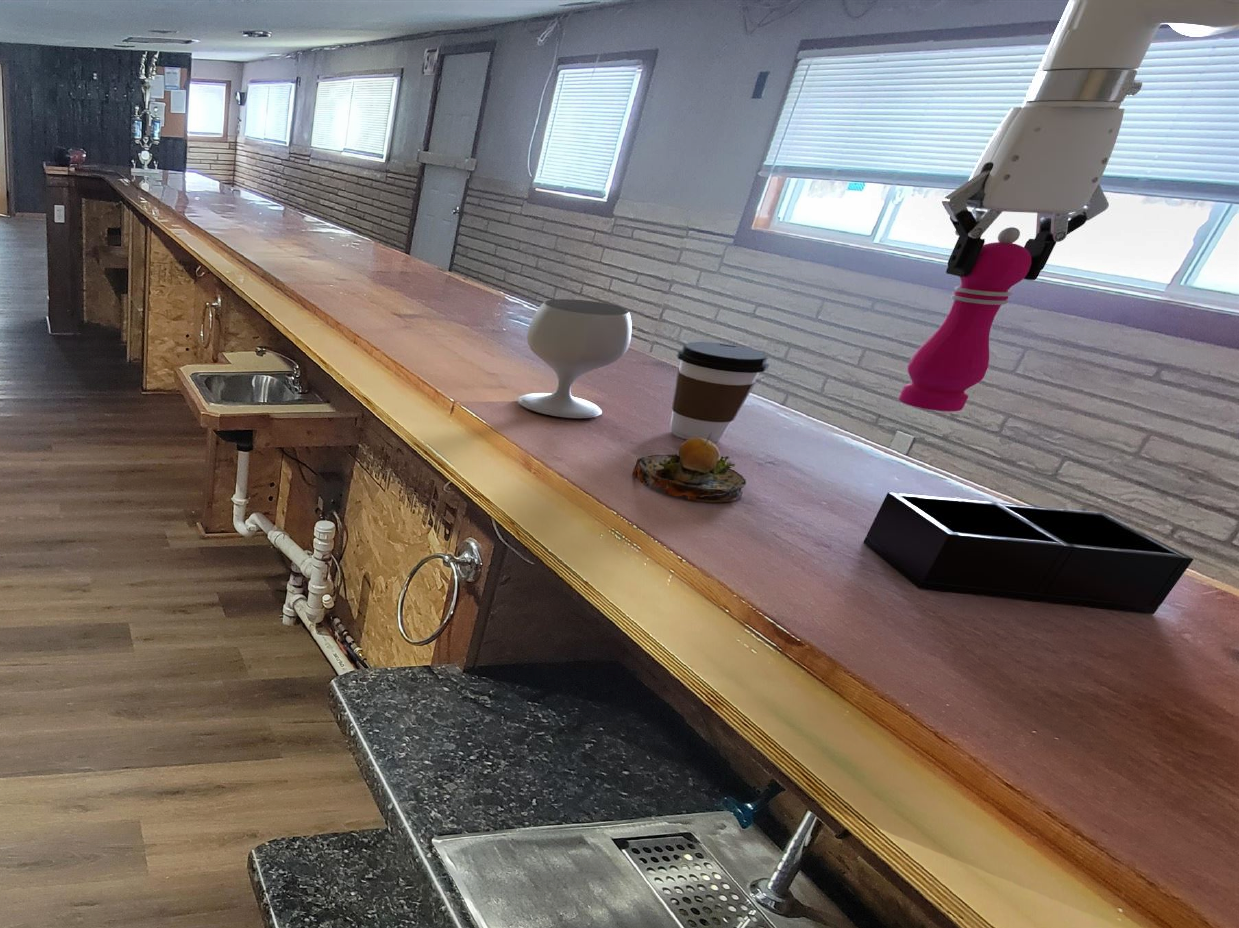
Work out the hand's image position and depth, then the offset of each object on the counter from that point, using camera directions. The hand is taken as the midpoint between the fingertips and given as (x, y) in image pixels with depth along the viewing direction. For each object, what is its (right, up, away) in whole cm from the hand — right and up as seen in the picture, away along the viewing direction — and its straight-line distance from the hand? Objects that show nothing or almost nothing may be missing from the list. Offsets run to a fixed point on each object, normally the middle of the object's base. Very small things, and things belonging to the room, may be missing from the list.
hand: (990, 275), depth 94 cm
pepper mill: (0, -13, +7) cm, 15 cm away
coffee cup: (-19, -14, +24) cm, 34 cm away
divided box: (-11, -35, -12) cm, 38 cm away
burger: (-31, -23, +7) cm, 39 cm away
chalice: (-35, -8, +33) cm, 48 cm away
